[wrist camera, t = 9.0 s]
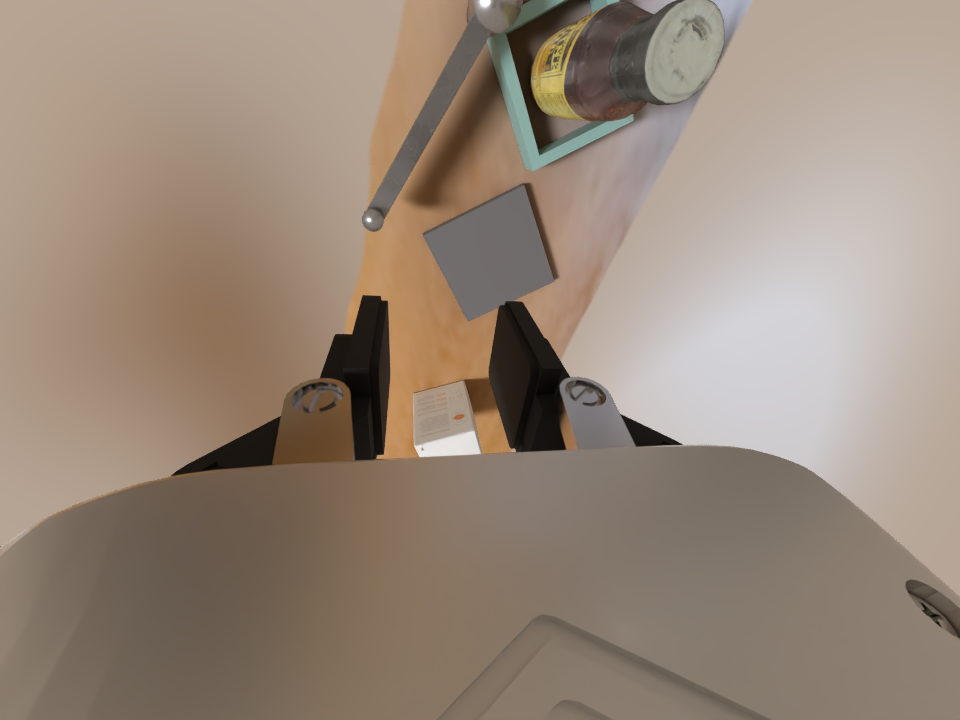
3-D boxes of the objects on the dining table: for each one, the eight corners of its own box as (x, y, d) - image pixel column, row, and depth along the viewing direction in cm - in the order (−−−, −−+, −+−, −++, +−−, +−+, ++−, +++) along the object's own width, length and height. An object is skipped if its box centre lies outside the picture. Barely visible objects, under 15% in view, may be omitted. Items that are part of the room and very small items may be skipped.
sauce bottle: (574, 15, 30) (757, -100, 14) (599, 91, 34) (768, 67, 18) (511, 66, 32) (613, 15, 16) (541, 134, 35) (650, 150, 19)
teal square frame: (591, -71, 28) (612, -93, 25) (618, 120, 36) (637, 120, 33) (461, 4, 29) (466, -9, 26) (515, 172, 37) (524, 177, 34)
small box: (422, 418, 55) (425, 473, 46) (412, 392, 51) (412, 446, 43) (472, 405, 55) (483, 458, 46) (464, 378, 51) (475, 430, 43)
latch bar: (524, 0, 26) (536, -12, 24) (387, 232, 34) (386, 241, 32) (487, -45, 25) (496, -63, 22) (353, 209, 33) (348, 217, 30)
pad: (521, 183, 37) (524, 185, 37) (551, 278, 44) (554, 281, 44) (422, 233, 39) (423, 235, 38) (467, 317, 46) (468, 321, 45)
